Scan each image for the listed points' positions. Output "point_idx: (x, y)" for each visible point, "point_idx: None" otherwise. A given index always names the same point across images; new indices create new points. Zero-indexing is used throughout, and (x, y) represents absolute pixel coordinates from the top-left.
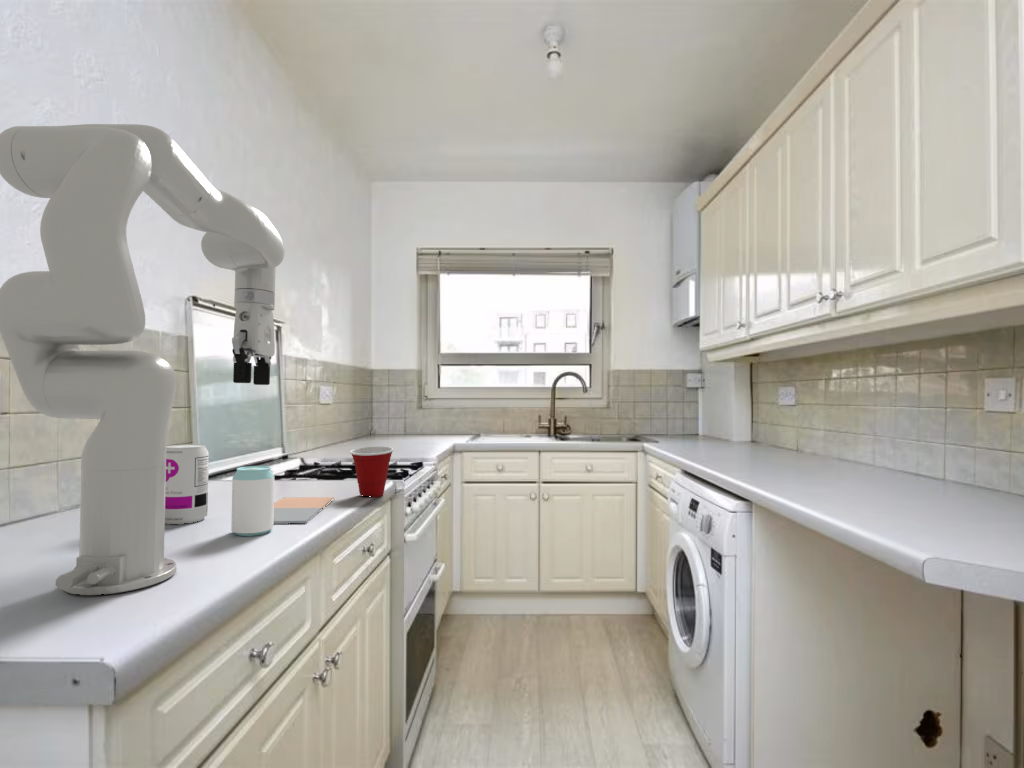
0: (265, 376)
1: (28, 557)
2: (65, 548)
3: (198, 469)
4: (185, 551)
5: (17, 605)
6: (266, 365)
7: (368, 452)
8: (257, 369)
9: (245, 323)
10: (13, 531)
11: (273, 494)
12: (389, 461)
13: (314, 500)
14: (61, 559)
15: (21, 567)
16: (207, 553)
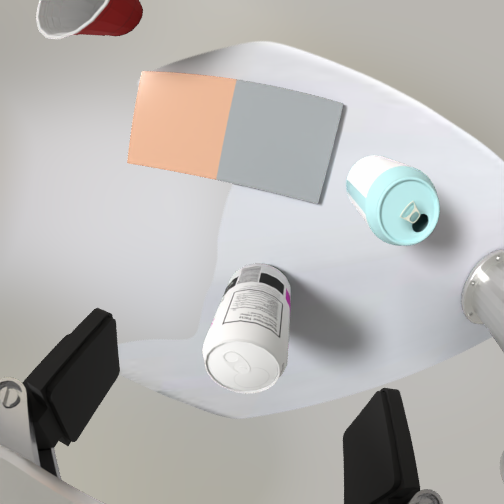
0: (91, 358)
1: (381, 376)
2: (362, 364)
3: (276, 318)
4: (435, 255)
5: None
6: (29, 402)
7: (48, 15)
8: (78, 421)
9: None
10: (266, 412)
11: (399, 162)
12: None
13: (164, 101)
14: (404, 353)
15: (413, 368)
16: (453, 230)
